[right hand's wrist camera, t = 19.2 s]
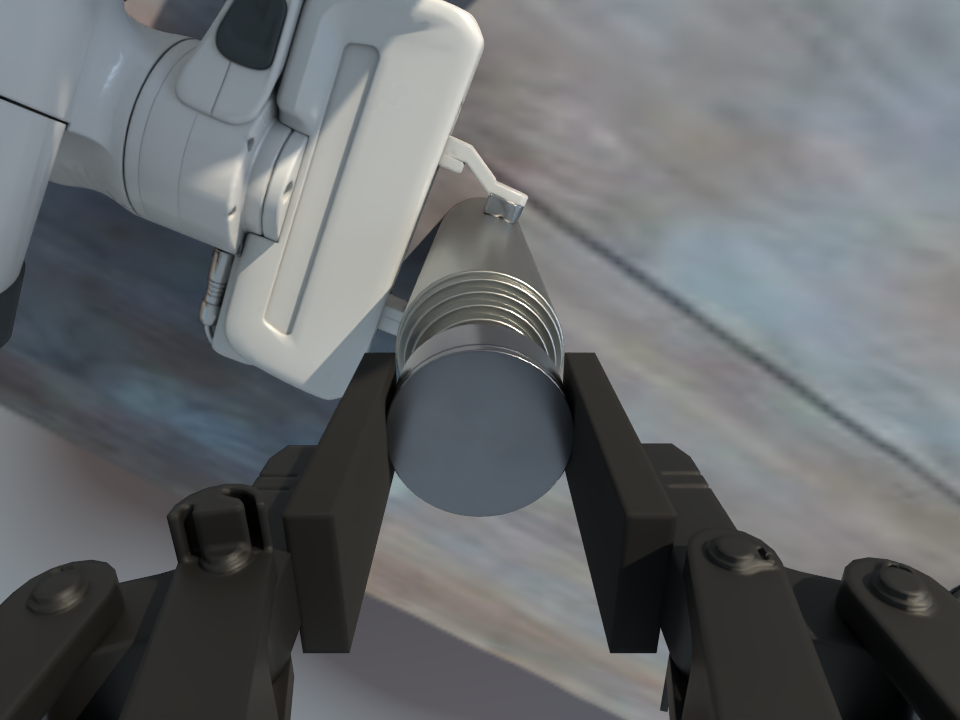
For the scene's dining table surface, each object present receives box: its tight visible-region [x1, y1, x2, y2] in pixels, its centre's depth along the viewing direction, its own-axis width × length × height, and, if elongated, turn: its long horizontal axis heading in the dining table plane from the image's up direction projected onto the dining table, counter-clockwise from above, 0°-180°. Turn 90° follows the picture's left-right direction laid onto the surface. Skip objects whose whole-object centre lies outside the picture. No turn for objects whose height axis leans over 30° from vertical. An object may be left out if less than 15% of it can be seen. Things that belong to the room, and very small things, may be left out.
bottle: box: [395, 198, 564, 374], centre depth 25 cm, size 5×5×24 cm
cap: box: [386, 324, 574, 517], centre depth 14 cm, size 4×4×2 cm
